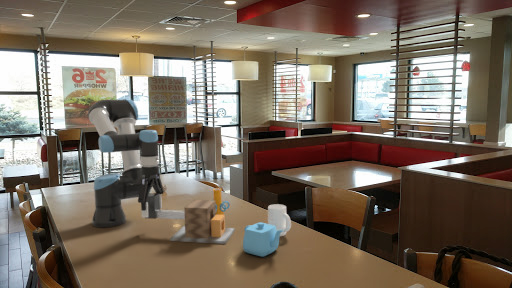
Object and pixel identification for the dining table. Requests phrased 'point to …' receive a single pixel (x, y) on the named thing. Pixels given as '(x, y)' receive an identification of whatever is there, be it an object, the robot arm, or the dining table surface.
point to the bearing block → (200, 224)
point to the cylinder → (219, 202)
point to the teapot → (261, 239)
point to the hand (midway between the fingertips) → (152, 212)
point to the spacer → (218, 225)
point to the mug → (279, 218)
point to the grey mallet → (157, 213)
